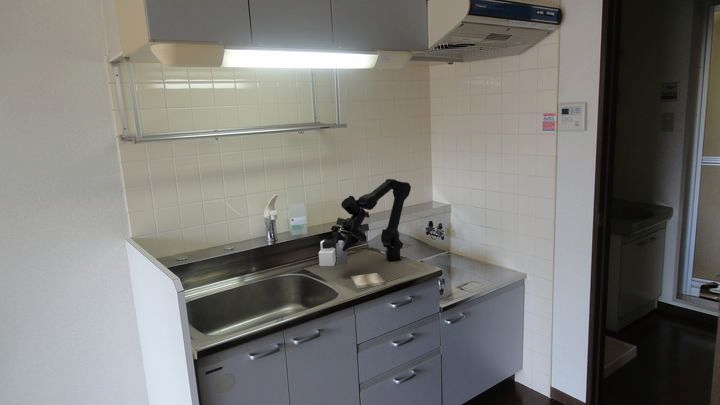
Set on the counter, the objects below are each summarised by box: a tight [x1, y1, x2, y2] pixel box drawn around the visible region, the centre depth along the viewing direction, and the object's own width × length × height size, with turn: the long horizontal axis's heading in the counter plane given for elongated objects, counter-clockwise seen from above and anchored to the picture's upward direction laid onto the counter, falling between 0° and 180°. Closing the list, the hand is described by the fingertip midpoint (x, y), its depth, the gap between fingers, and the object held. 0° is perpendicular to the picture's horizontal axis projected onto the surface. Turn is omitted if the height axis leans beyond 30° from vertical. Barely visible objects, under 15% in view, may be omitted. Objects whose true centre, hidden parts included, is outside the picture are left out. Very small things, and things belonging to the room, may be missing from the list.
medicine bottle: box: [318, 239, 337, 267], centre depth 229 cm, size 7×7×12 cm
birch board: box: [350, 272, 386, 289], centre depth 203 cm, size 12×12×1 cm
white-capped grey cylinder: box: [335, 240, 349, 266], centre depth 208 cm, size 5×5×10 cm
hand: (339, 249), depth 206 cm, fingers closed on white-capped grey cylinder, 5 cm apart
